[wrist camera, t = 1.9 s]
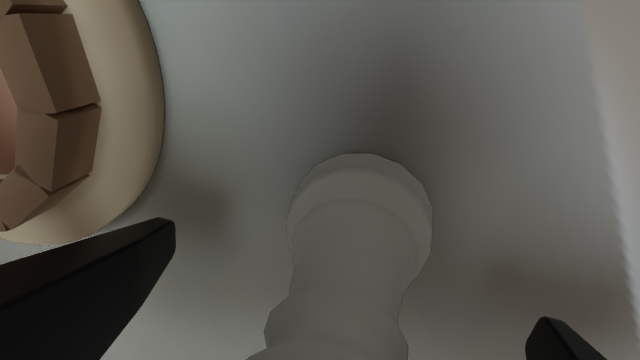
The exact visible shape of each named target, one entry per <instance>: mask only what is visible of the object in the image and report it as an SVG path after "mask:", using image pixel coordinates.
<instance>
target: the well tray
mask: <svg viewBox="0 0 640 360" xmlns="http://www.w3.org/2000/svg"><path fill="white" fill-rule="evenodd" d="M164 109H165V106H164V94H163V83H162V76H161V71H160V66H159V62H158V57H157V52H156V48H155V45H154V42H153V39H152V36H151V33H150V29H149V26H148V23H147V20H146V18H145V16H144V13H143V11H142V9H141V6H140V4H139V2H138V0H0V238H1V239H5V240H9V241H14V242H18V243H24V244H34V245H54V244H62V243H67V242H72V241H75V240H78V239H81V238H83V237H86V236H89V235H90V234H92V233H94V232H95V231H97V230H99V229H100V228H102V227H104V226H105V225H106V224H108V223H109V222H111V221H112V220H114V219H115V218H116V217H118V216H119V215H121V214H122V213H123V212H124V211H125V210H127V209H128V208H129V207H130V206H131V205H132V204H133V203H134V202H135V201H136V200H137V198H138V197H139V196H140V195H141V193H142V192H143V191H144V189H145V188H146V186H147V184H148V182H149V180H150V178H151V176H152V174H153V172H154V170H155V167H156V163H157V160H158V157H159V154H160V150H161V144H162V138H163V132H164Z"/></svg>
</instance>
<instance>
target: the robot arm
mask: <svg viewBox="0 0 640 360" xmlns="http://www.w3.org/2000/svg"><path fill="white" fill-rule="evenodd" d="M175 249H176V235H175V223H174V222H173V221H172V220H168V219H164V218H160V217H157V218H154V219H150V220H147V221H144V222H140V223H137V224H134V225H131V226H127V227H124V228H121V229H117V230H114V231H111V232H107V233H104V234H101V235H97V236H94V237H91V238H87V239H84V240H81V241H78V242H74V243H71V244H68V245H64V246H61V247H58V248H54V249H51V250H48V251H44V252H41V253H38V254H35V255H31V256H28V257H25V258H21V259H18V260H15V261H11V262H8V263H5V264H1V265H0V360H100V359H101V357H102V356H103V355H104V353H105V352H106V351H107V350H108V348H109V347H110V346H111V345H112V343H113V342H114V341H115V339H116V338H117V337H118V336H119V334H120V333H121V332H122V331H123V329H124V328H125V327H126V325H127V324H128V323H129V322H130V320H131V319H132V318H133V317H134V315H135V314H136V313H137V311H138V310H139V309H140V307H141V306H142V304H143V303H144V301H145V300H146V298H147V297H148V295H149V294H150V292H151V291H152V289H153V287H154V286H155V284H156V283H157V281H158V279H159V278H160V276H161V275H162V273H163V271H164V270H165V268H166V267H167V265H168V264H169V262H170V260H171V259H172V257H173V255H174V253H175ZM525 353H526V360H607V359H606V358H605V357H604V356H602V355H601V354H600V353H599V352H598V351H597V350H596V349H594V348H593V347H592V346H591V345H590V344H589V343H588V342H586V341H585V340H584V339H583V338H582V337H581V336H580V335H578V334H577V333H576V332H575V331H574V330H573V329H572V328H570V327H569V326H568V325H567V324H566V323H565V322H563V321H561V320H558V319H554V318H550V317H546V316H544V317H541V318H540V319H539V320H538V322H537V323H536V325H535V327H534V329H533V330H532V332H531V334H530V336H529V337H528V339H527V341H526V345H525Z"/></svg>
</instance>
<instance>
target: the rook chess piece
mask: <svg viewBox="0 0 640 360" xmlns="http://www.w3.org/2000/svg"><path fill="white" fill-rule="evenodd" d="M432 217H433V208H432V206H431V203H430V201H429V199H428V196H427V194H426V192H425V189H424V187H423V185H422V183H421V182H419V181H418V180H417V179H416V178H415V177H414V176H413V175H412V174H411V173H410V172H409V171H407V170H406V169H405V168H404V167H403V166H402V165H401V164H399V163H396V162H393V161H391V160H388V159H385V158H383V157H380V156H377V155H375V154H341V155H338V156H336V157H334V158H331V159H329V160H326V161H324V162H321V163H319V164H317V165H316V166H315V167H314V168H313V169H312V170H311V171H310V172H309V173H308V174H307V175H306V176H305V177H304V178H303V179H302V180H301V182H300V183H299V185H298V188H297V191H296V194H295V196H294V197H293V201H292V204H291V207H290V210H289V213H288V216H287V219H286V229H287V237H288V244H289V250H290V252H291V254H292V260H293V264H294V271H293V276H292V281H291V286H290V291H289V296H288V297H287V298H286V299H285V300H284V301H283V302H281V303H280V304H279V305H278V306H277V307H276V308H274V309H273V310H272V311H271V312H270V315H269V318H268V320H267V323H266V326H265V329H264V335H265V340H266V346H267V349H265V350H263V351H261V352H258V353H256V354H254V355H252V356H250V357H249V358H247V359H246V360H408V344H407V342H406V340H405V339H404V337H403V335H402V333H401V331H400V329H399V327H398V325H397V322H398V317H399V312H400V307H401V302H402V297H403V292H404V290H406V289H407V288H408V286H409V285H410V283H411V281H412V280H414V279H415V278H417V276H418V274H419V272H420V271H421V269H422V267H423V265H424V264H425V262H426V260H427V259H428V257H429V254H430V252H431V249H432V228H433V223H432Z"/></svg>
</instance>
